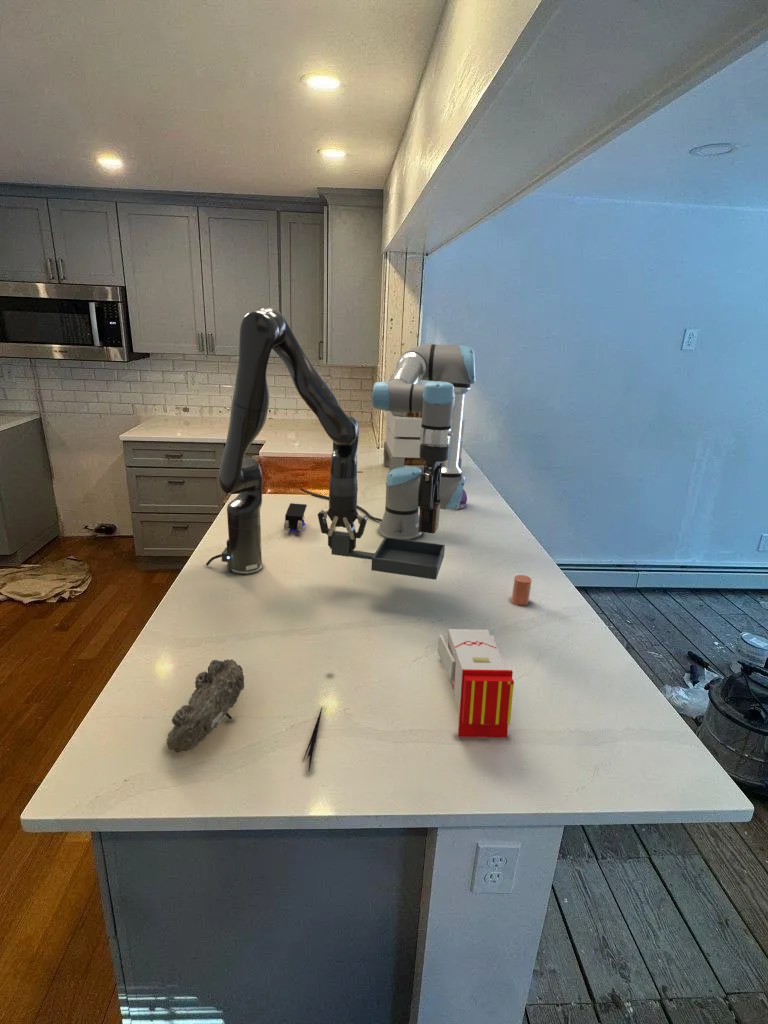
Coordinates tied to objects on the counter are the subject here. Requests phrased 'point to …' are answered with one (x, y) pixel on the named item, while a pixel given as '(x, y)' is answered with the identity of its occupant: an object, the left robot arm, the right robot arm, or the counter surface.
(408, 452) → the white crate
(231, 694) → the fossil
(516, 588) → the terracotta cylinder
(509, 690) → the toy
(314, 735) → the feather
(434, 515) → the walnut block
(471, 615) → the counter surface
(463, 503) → the figurine
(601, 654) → the counter surface
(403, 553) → the tray
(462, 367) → the right robot arm
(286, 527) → the figurine character
